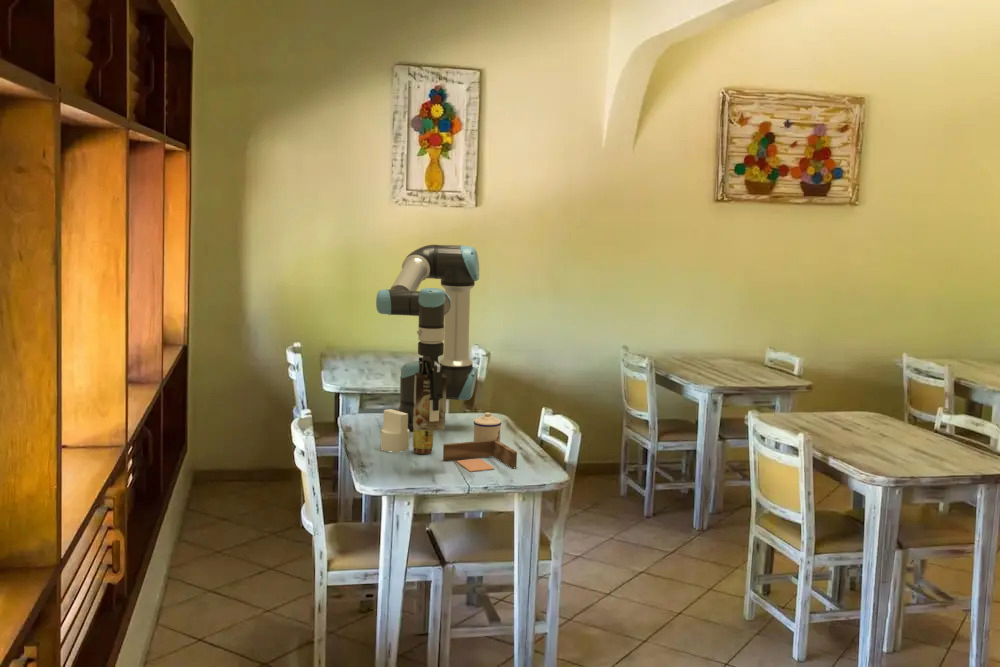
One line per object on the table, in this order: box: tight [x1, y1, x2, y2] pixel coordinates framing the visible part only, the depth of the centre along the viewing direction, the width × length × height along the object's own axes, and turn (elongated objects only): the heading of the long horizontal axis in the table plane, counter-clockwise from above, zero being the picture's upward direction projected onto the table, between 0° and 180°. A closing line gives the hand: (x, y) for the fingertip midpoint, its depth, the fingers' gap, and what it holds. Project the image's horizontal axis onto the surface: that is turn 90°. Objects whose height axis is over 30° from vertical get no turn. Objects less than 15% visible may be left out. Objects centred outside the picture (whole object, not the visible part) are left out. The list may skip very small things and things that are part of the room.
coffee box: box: [413, 373, 447, 431], centre depth 262 cm, size 9×6×16 cm
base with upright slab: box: [380, 408, 410, 453], centre depth 285 cm, size 9×9×12 cm
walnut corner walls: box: [442, 440, 518, 469], centre depth 271 cm, size 15×18×5 cm
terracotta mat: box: [455, 458, 496, 473], centre depth 270 cm, size 11×8×1 cm
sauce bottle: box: [412, 430, 434, 455], centre depth 281 cm, size 7×6×20 cm
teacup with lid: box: [473, 412, 502, 442], centre depth 291 cm, size 12×9×12 cm
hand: (429, 417), depth 262 cm, fingers closed on coffee box, 7 cm apart
